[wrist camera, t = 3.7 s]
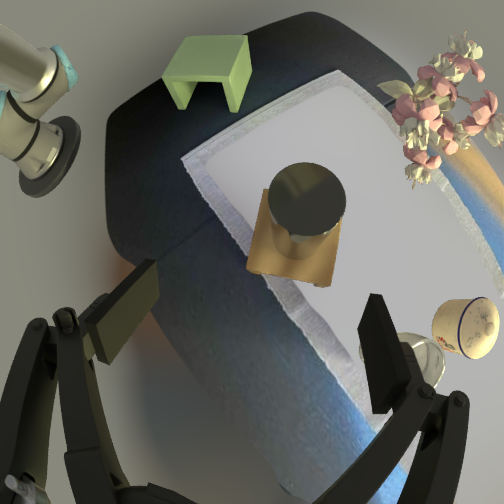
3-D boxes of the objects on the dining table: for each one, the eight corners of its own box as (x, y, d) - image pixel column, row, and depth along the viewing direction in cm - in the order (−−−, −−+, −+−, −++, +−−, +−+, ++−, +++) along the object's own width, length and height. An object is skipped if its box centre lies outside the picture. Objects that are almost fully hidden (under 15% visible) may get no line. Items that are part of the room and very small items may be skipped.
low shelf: (250, 272, 41) (245, 268, 35) (265, 202, 43) (263, 188, 37) (323, 287, 40) (330, 286, 34) (335, 217, 42) (343, 204, 36)
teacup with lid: (422, 345, 37) (462, 357, 25) (438, 292, 38) (480, 288, 26) (469, 358, 35) (509, 368, 24) (482, 309, 36) (524, 309, 25)
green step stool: (178, 109, 48) (161, 76, 38) (197, 68, 49) (185, 36, 40) (237, 112, 46) (229, 76, 36) (252, 70, 48) (246, 35, 38)
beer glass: (404, 344, 37) (456, 362, 22) (374, 377, 37) (416, 410, 22) (378, 316, 38) (425, 323, 24) (346, 350, 38) (381, 375, 23)
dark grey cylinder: (267, 254, 36) (260, 227, 22) (277, 207, 36) (275, 155, 23) (316, 264, 35) (340, 243, 21) (325, 216, 36) (350, 170, 22)
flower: (322, 107, 43) (403, 58, 19) (396, 62, 41) (476, 23, 17) (381, 197, 48) (480, 216, 24) (443, 141, 47) (531, 139, 23)
